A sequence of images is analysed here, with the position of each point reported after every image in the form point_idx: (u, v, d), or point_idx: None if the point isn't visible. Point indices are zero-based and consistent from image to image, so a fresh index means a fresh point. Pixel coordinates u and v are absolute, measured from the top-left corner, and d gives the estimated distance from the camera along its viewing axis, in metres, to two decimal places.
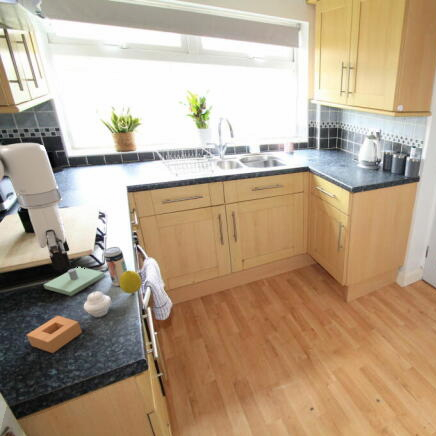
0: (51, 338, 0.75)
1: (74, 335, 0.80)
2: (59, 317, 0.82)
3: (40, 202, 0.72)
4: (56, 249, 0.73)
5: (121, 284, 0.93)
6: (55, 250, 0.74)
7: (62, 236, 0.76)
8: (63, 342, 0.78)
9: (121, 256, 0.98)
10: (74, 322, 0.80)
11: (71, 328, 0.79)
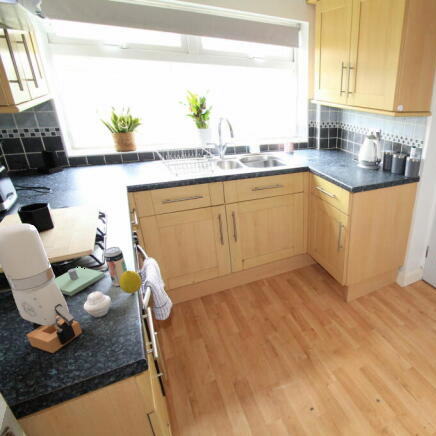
0: (51, 338, 0.75)
1: None
2: None
3: (44, 280, 0.71)
4: (71, 322, 0.75)
5: (121, 284, 0.93)
6: (70, 323, 0.75)
7: (67, 307, 0.76)
8: None
9: (121, 256, 0.98)
10: (74, 322, 0.80)
11: None
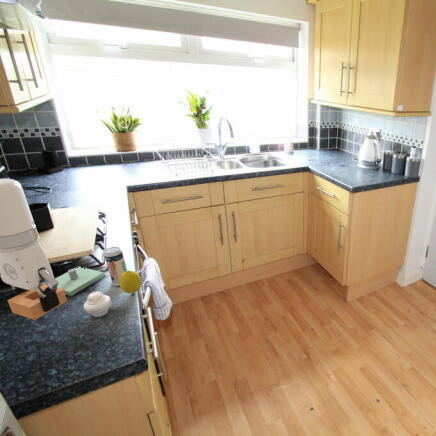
0: (33, 304, 0.71)
1: None
2: (43, 285, 0.77)
3: (27, 240, 0.67)
4: (55, 287, 0.71)
5: (121, 284, 0.93)
6: (54, 288, 0.71)
7: None
8: None
9: (121, 256, 0.98)
10: (59, 290, 0.76)
11: None
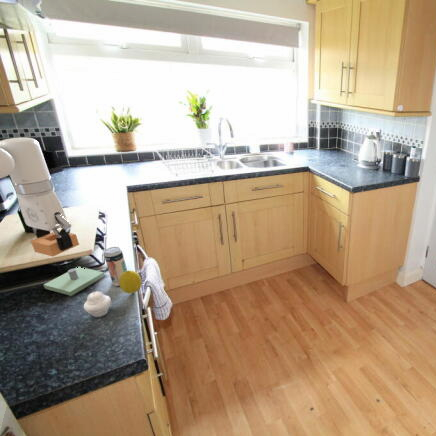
0: (52, 243, 0.86)
1: None
2: (59, 231, 0.93)
3: (45, 188, 0.82)
4: (69, 229, 0.86)
5: (121, 284, 0.93)
6: (67, 230, 0.86)
7: (65, 217, 0.87)
8: None
9: (121, 256, 0.98)
10: (72, 234, 0.91)
11: None
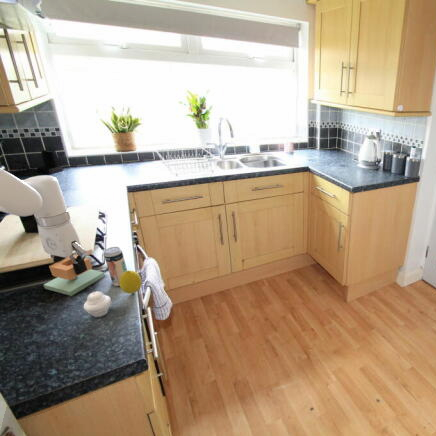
0: (68, 268, 0.95)
1: None
2: (74, 256, 1.02)
3: (63, 220, 0.91)
4: (84, 255, 0.95)
5: (121, 284, 0.93)
6: (83, 256, 0.95)
7: None
8: None
9: (121, 256, 0.98)
10: (86, 259, 1.00)
11: None
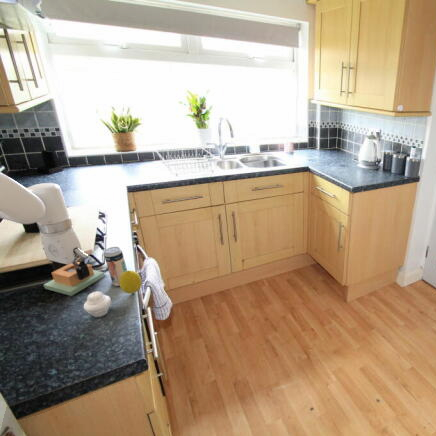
0: (71, 274, 0.96)
1: None
2: None
3: (65, 227, 0.92)
4: (87, 260, 0.96)
5: (121, 284, 0.93)
6: (86, 261, 0.95)
7: None
8: None
9: (121, 256, 0.98)
10: (88, 265, 1.01)
11: None
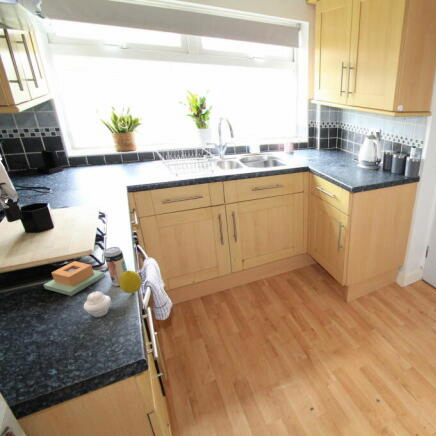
0: (71, 274, 0.96)
1: (88, 275, 1.01)
2: (76, 262, 1.03)
3: None
4: (16, 198, 0.83)
5: (121, 284, 0.93)
6: (15, 199, 0.83)
7: (13, 189, 0.84)
8: (80, 279, 0.99)
9: (121, 256, 0.98)
10: (88, 265, 1.01)
11: (86, 269, 1.00)
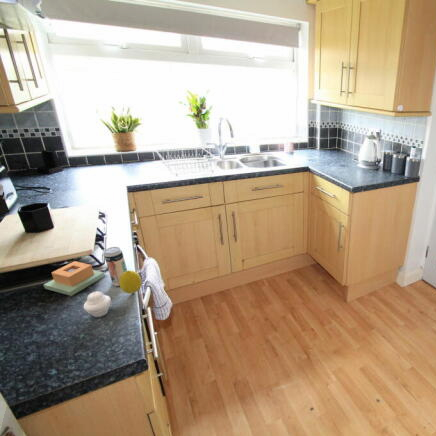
0: (71, 274, 0.96)
1: (88, 275, 1.01)
2: (76, 262, 1.03)
3: None
4: (1, 191, 0.81)
5: (121, 284, 0.93)
6: (0, 192, 0.81)
7: None
8: (80, 279, 0.99)
9: (121, 256, 0.98)
10: (88, 265, 1.01)
11: (86, 269, 1.00)
